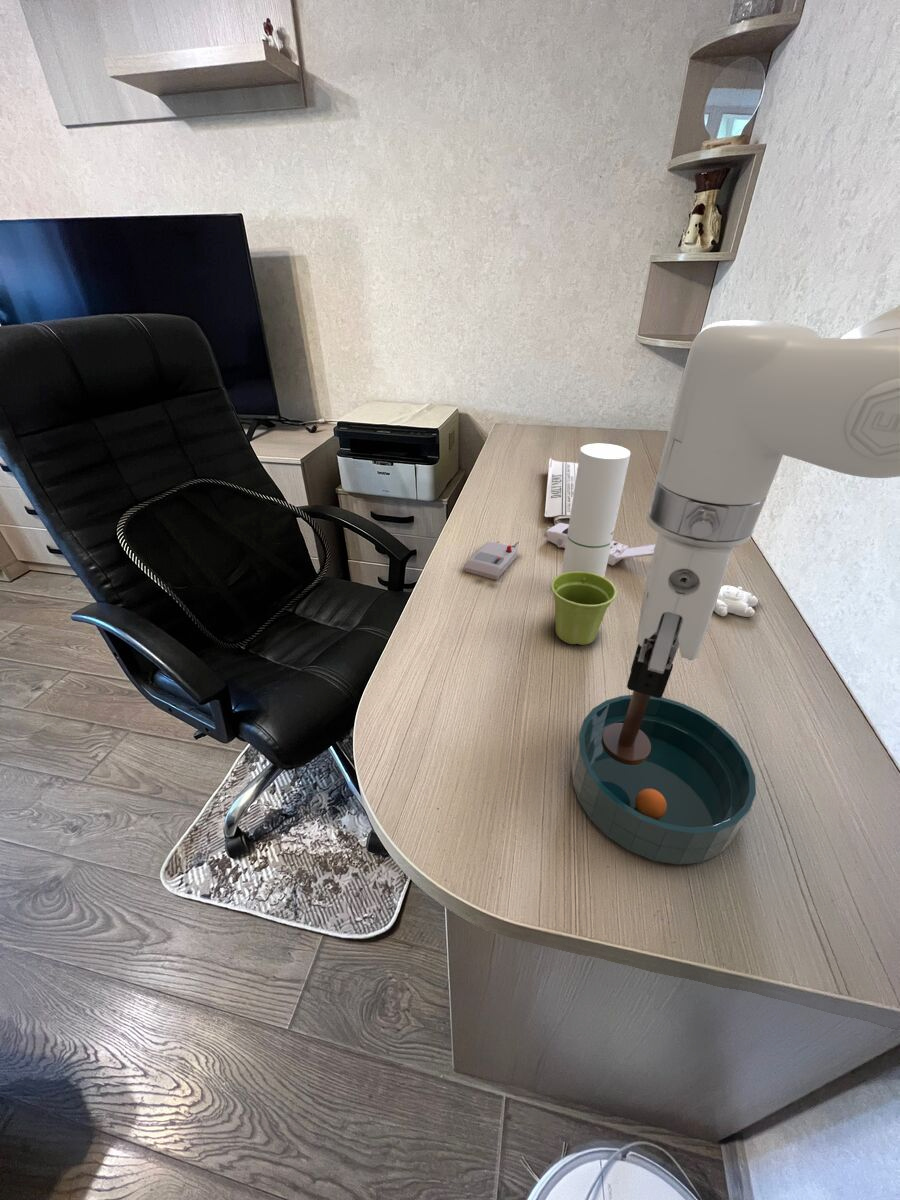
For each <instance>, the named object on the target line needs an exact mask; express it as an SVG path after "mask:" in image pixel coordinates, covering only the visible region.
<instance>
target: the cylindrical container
mask: <svg viewBox="0 0 900 1200" xmlns="http://www.w3.org/2000/svg"><path fill="white" fill-rule="evenodd" d="M630 458H631V451H630V450H629V449H628V448H626V447H623V446H620V445H617V444H611V443H602V442H601V443H600V442H599V443H598V442H597V443H589V444H584V445H582V446H581V447H580V451H579V457H578V462H577V463H578V469H577V476H576V482H575V488H574V495H573V501H572V508H571V514H570V521H569V527H568V534H567V540H566V547H565V548H564V554H563V560H562V567H561V572H560V574H562V573H566V572H572V571H583V572H590V573H594V574H596V575H600V576H602V577H604V578H605V577H606V576H605V575H606V572H607V566H608V564H607V562H608V557H609V553H610V548H611V543H612V541H613V538H614V533H615V528H616V524H617V519H618V515H619V509H620V505H621V500H622V497H623V491H624V486H625V481H626V476H627V473H628V467H629V462H630Z"/></svg>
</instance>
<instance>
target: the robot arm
mask: <svg viewBox="0 0 900 1200" xmlns="http://www.w3.org/2000/svg"><path fill="white" fill-rule="evenodd" d="M680 381H681V382H680V384H679V385H680V386H679V389H678V392H677V397H676V401H675V405H674V409H673V413H672V416H671V419H670V424H669V428H668V432H667V436H666V440H665V444H664V448H663V451H662V455H661V459H660V463H659V466H658V471H657V475H656V478H655V482H654V485H653V490H652V493H651V497H650V501H649V506H648V509H647V513H646V519H645V520H646V523H647V524H648V526H649V527H650V528H651V529H652V530H654V531H655V532H657V537H656V540H655V543H656V545H655V548H654V552H653V555H651V556H652V557H651V560H650V564H649V568H648V572H647V577H646V581H645V586H644V590H643V597H642V602H641V608H640V615H639V621H638V628H637V635H636V642H637V647H636V651H635V653H634V656H633V661H632V663H631V668H630V674H629V676H628V680H627V685H626V688H627V689H628V690H630V691H636V692H639V693H643V694H646V695H649V696H653V697H656V698H661V697H663V695H664V692H665V690H666V687H667V684H668V681H669V679H670V676H671V674H672V671H673V667H674V663H673V662H674V660H675V657H676V654H677V652H678V649H679V652H680V656H681V658H683V659H687V660H688V661H694V660H695V659H697V658H698V657H699V655H700V652H701V648H702V646H703V642H704V639H705V637H706V633H707V631H708V629H709V628H708V627H709V625H710V621H711V619H712V616H713V613H714V607H715V604H716V602H717V599H718V596H719V592H720V589H721V587H722V586H723V582H724V579H725V576H726V572H727V571H728V570H727V569H728V566H729V561H730V559H731V554H732V549H733V548H738V547H741V546H744V545H745V544H747V543H748V542H750V539H751V538H752V535H753V532H754V530H755V528H756V525H757V522H758V520H759V517H760V515H761V512H762V510H763V507H764V505H765V503H766V500H767V497H768V494H769V492H770V490H771V487H772V484H773V482H774V479H775V477H776V474H777V472H778V469H779V466H780V464H781V462H782V459H783V456H786V457H789V458H793V459H797V460H799V461H802V462H805V463H808V464H812V465H814V466H817V467H821V468H824V469H827V470H830V471H833V472H837V473H840V474H844V475H850V476H853V477H858V478H868V479H888V478H889V479H891V478H899V477H900V304H899V305H897V306H895V307H893V308H891V309H889V310H887V311H885V312H883V313H881V314H880V315H878V316H875V317H873V318H872V319H870V320H868V321H866V322H865V323H863V324H861V325H859V326H857V327H856V328H854V329H852V330H851V331H849V332H848V333H846V334H844V335H843V336H842V337H821V335H820V334H819V333H818V332H817V331H815V330H814V329H811V328H810V327H807V326H803V325H799V324H794V323H788V322H779V321H766V320H745V319H744V320H741V319H739V320H725V321H718V322H715V323H712V324H709V325H707V326H706V327H704V328H702V329H701V331H699V333H697V334H696V336H695V338H694V339H693V341H692V343H691V345H690V349H689V352H688V354H687V358H686V362H685V366H684V370H683V374H682V378H681V380H680ZM649 644H652V645H654V647H653V649H652V648H649ZM648 648H649V649H648Z"/></svg>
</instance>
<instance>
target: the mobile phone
mask: <svg viewBox="0 0 900 1200" xmlns="http://www.w3.org/2000/svg"><path fill="white" fill-rule="evenodd" d="M568 527H569V524H564V523H558V524H554V525H553V526H552V527H551V526H546V531H545V539H546V540H547V541H549V542H550V543H552V544H554V545H556V546H557V548H563V549H565V547H566V540H567V534H568ZM655 545H656V542H654V543H650V544H643V545H636V546H630V547H629V546H628V545H627V544H623V543H621V542H617V541H615V540H612V543H611V548H610V553H609V557H608V562H607V565H610V566H615V565H616V564H617V563H618V562H619V561H621V560H623V559H631V558H640V557H646V556H647V557H649V556H653V552H654V548H655Z"/></svg>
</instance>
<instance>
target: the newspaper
mask: <svg viewBox="0 0 900 1200" xmlns="http://www.w3.org/2000/svg"><path fill="white" fill-rule="evenodd" d="M578 463H579V462H573V461H572V462H571V461H570V462H569V461H558V460H554V459H552V458H551V457H549V462H548V472H547V481H546V483H547V484H546V496H545V507H544V517H545V518H553V523H554V525H556V524H558V523H564V524H569V521H570V514H571V508H572V501H573V495H574V488H575V482H576V476H577V469H578Z"/></svg>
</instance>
